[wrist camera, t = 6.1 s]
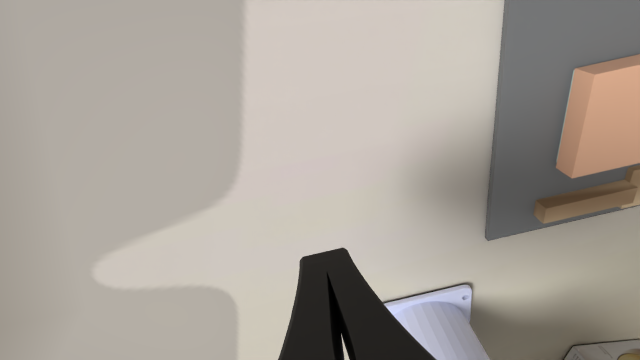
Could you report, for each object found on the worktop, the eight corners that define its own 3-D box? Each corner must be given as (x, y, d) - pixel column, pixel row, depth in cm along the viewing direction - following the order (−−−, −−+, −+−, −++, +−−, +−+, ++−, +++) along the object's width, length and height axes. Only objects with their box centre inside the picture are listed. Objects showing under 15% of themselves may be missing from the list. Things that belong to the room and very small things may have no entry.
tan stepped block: (672, 192, 25) (687, 200, 24) (531, 225, 24) (541, 234, 24) (687, 153, 23) (704, 161, 22) (537, 188, 23) (548, 196, 22)
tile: (552, 165, 22) (645, 144, 22) (571, 178, 21) (670, 155, 21) (570, 67, 19) (679, 43, 19) (594, 74, 18) (711, 48, 18)
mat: (677, 192, 25) (683, 195, 25) (485, 237, 25) (488, 240, 25) (793, -88, 17) (804, -89, 17) (507, -27, 17) (512, -28, 16)
